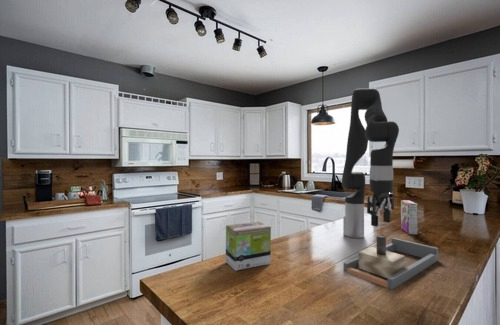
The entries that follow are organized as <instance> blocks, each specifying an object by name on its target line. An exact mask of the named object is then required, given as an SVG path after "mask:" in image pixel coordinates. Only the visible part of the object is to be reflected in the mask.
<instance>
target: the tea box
mask: <svg viewBox="0 0 500 325" xmlns="http://www.w3.org/2000/svg"><path fill="white" fill-rule="evenodd" d="M271 234H272V227H271V226H270V225H268V224H265V223H263V222H261V221H254V222H253V221H252V222H245V223H237V224H236V223H234V224H227V225H225V263H226V264H227V265H228V266H230V267H231V268H232V269H233V270H234V271H235V272H236V271H240V270H245V269H250V268H255V267H256V268H257V267H259V266H260V267H261V266H267V265H270V264H271V255H272V254H271V252H272V251H271V249H272V248H271V247H272V246H271V245H272V244H271V242H272V239H271V238H272V237H271V236H272V235H271Z"/></svg>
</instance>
